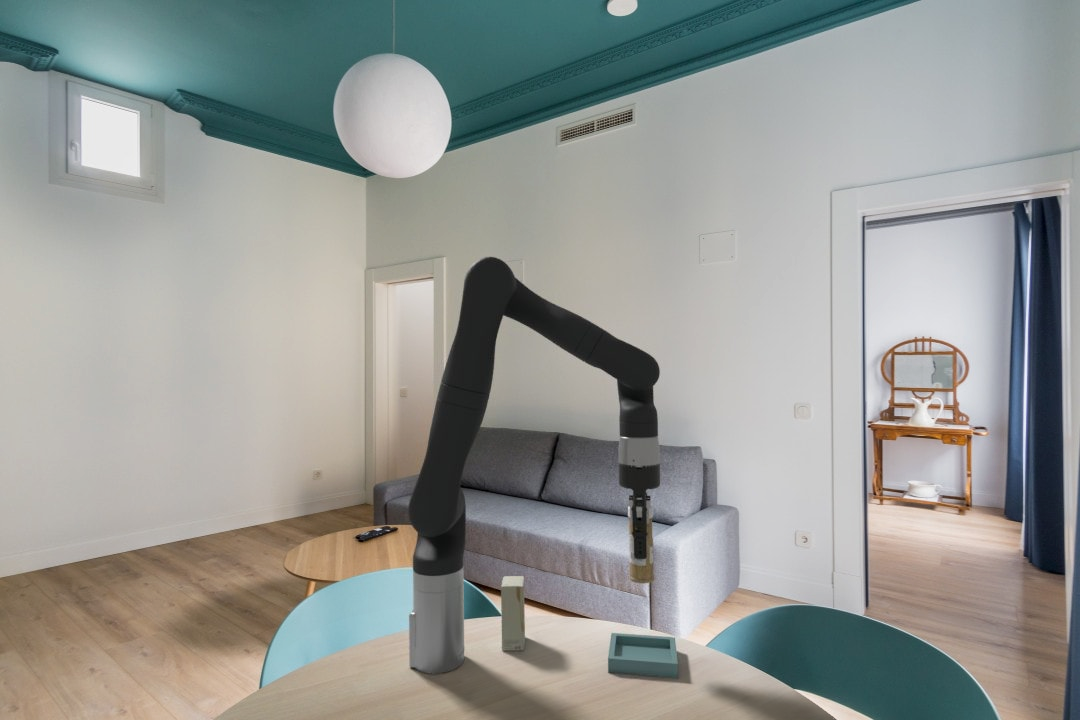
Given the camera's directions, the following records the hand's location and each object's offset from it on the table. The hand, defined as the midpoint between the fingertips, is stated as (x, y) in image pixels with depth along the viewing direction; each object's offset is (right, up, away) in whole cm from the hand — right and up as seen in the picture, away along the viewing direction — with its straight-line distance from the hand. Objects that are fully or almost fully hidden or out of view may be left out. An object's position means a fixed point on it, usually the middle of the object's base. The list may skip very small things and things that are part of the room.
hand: (640, 553), depth 105 cm
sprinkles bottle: (0, -5, 0) cm, 5 cm away
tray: (0, -20, 0) cm, 20 cm away
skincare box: (-24, -20, +7) cm, 32 cm away
